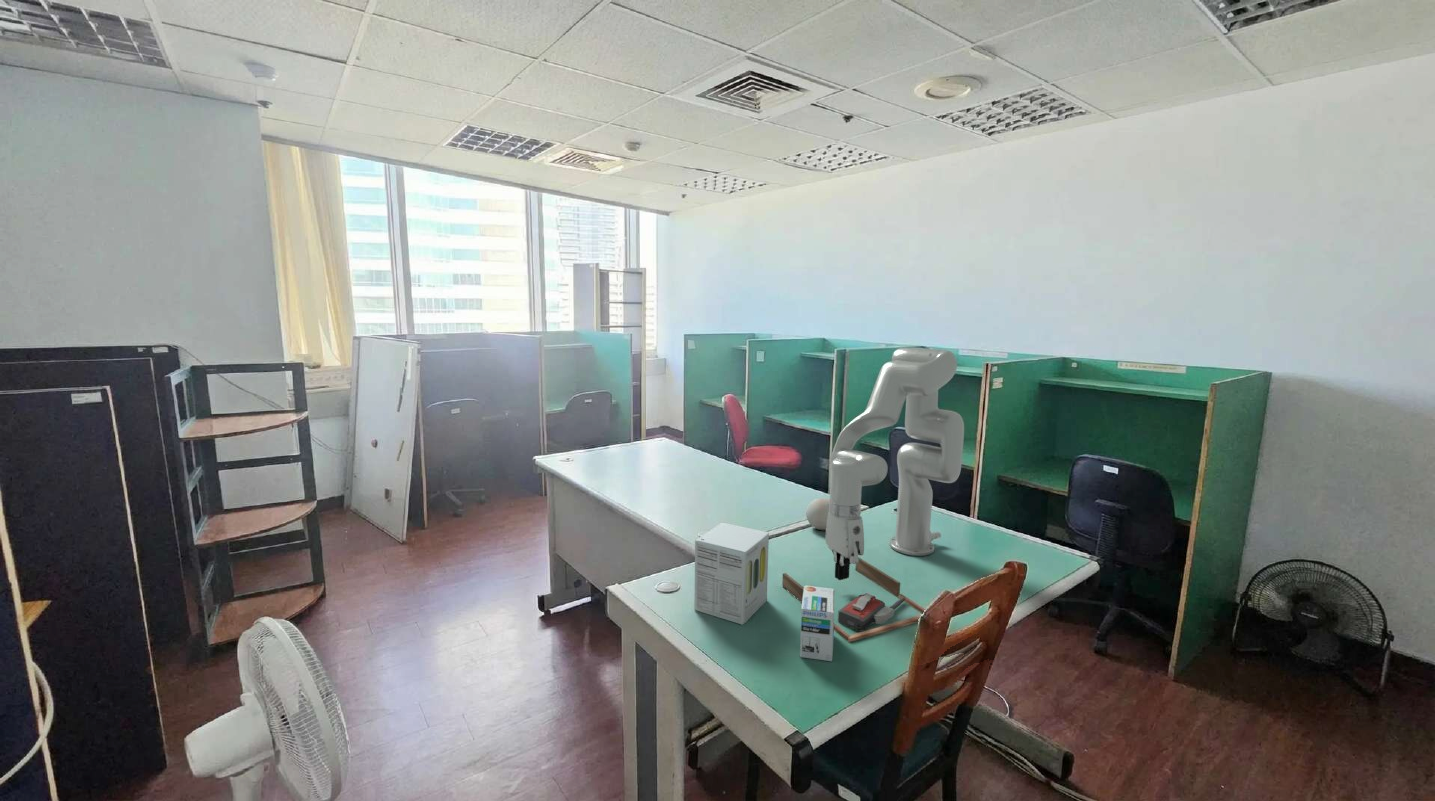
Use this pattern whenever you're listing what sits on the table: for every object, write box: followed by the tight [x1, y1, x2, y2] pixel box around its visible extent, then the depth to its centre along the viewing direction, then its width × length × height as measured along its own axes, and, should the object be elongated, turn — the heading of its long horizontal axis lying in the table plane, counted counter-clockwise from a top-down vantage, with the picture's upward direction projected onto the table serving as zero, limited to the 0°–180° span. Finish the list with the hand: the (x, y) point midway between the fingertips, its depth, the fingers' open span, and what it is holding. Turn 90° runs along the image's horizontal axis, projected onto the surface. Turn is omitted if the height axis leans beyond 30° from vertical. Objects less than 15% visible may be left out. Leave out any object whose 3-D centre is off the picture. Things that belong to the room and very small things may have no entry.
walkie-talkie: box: [837, 592, 905, 632], centre depth 135 cm, size 9×4×20 cm
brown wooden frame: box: [781, 556, 927, 643], centre depth 140 cm, size 24×27×4 cm
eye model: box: [805, 497, 830, 531], centre depth 185 cm, size 10×10×10 cm
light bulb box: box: [799, 585, 836, 662], centre depth 122 cm, size 11×7×11 cm, turn 168°
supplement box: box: [693, 522, 770, 626], centre depth 137 cm, size 13×13×18 cm
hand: (841, 577), depth 145 cm, fingers closed
